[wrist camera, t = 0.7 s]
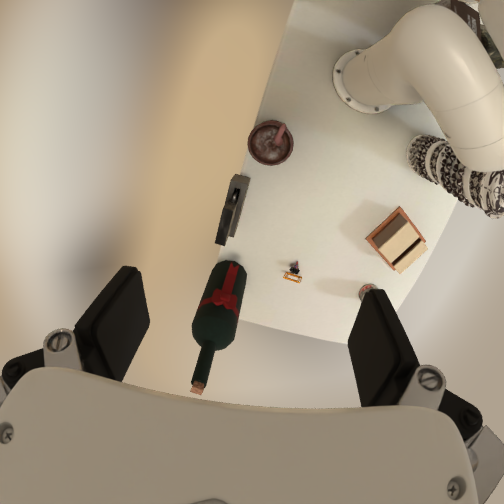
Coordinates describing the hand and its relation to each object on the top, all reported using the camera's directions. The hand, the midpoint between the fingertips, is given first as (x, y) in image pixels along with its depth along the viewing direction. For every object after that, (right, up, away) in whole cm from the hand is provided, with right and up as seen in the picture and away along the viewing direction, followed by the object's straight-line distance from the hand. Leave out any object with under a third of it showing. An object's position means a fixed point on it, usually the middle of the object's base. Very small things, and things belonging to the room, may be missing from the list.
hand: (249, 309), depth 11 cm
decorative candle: (+34, +21, +33) cm, 52 cm away
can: (+4, +23, +35) cm, 42 cm away
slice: (+32, +4, +42) cm, 53 cm away
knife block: (-3, +12, +42) cm, 43 cm away
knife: (-3, +12, +42) cm, 43 cm away
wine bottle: (-5, -2, +49) cm, 50 cm away
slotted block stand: (+31, +5, +42) cm, 52 cm away
